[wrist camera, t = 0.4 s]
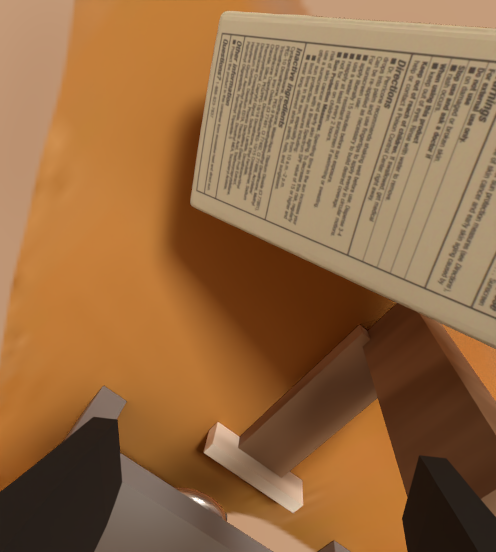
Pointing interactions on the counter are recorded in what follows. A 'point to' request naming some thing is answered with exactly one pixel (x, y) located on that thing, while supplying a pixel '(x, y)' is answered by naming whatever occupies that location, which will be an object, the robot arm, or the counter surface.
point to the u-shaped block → (162, 508)
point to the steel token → (204, 501)
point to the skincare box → (361, 154)
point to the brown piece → (393, 401)
